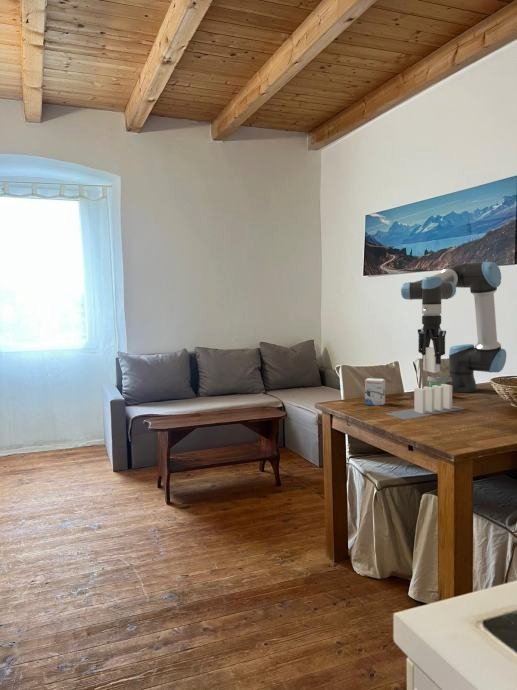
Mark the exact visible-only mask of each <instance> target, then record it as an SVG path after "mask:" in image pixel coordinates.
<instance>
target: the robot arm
mask: <svg viewBox="0 0 517 690" xmlns="http://www.w3.org/2000/svg"><path fill="white" fill-rule="evenodd" d="M501 283H502V272H501V269H500V267H499V265H498V264H497V263H496V262H494V261H493V262H491V261H480V262H469V263H468V262H463V263H459V264H455V265H453V266H449V267H447V268H445V269H442V270H441V271H440V272H439V273H437V274H433V275H431V276H424V277H423V278H422V279H420V280H416V281H414V282H413V281H412V282H411V281H409V282H404V283H403V284H402V285H401V288H400V295H401V298H403V299H404V300H409V301H411V300H421V314H422V316H421V324H422V328H420V329H417V335H418V353H419V354H421V355H422V359H421V361H422V363H423V368H422V370H423V371H425V372H427V371H426V347H430V345H431V341H432V345H433V348H434V352H435V355H434V359H433V372H436V373H439V372H441V371H440V369H441V367H440V365H441V364H442V360H441V358H442V356H444V355H446V334H447V331H446V330H443V329H441V325H442V315H441V314H442V300H449V299H451V298H453V297H454V296H455V295H456V294H457V288H461V289H462V288H463V289H464V288H465V289H467V288H469V290H470V294H472V295H473V297H474V309H475V322H476V323H475V324H476V333H477V335H476V336H477V343H476V344H475V345H474V343H469V344H467V343H465V344H458V345H452V346H451V347H450V348H449V349H448V350H449V352H448V353H449V354H448V362H449V363H448V366H449V367H448V377H447V378H449V377H451V378H452V382H451V386H452V393H473V392H474V393H475V392H477V391H478V385H477V382H476V379H475V375H474V372H484V373H500V372H502V371H503V370H504V367H505V365H506V362H507V351H506V349H505V348H502V344H501V343H500V342H499V341H498V335H497V325H496V324H497V323H496V322H497V320H496V306H495V293H496V292H497V290H498V287H500V286H501ZM433 372H432V373H433Z"/></svg>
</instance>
